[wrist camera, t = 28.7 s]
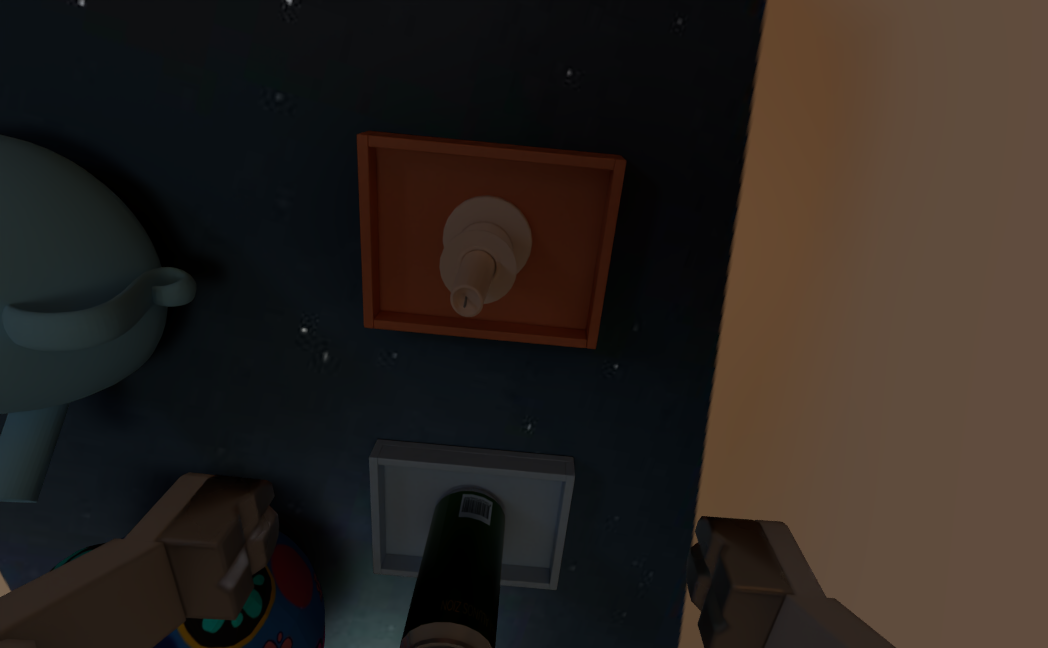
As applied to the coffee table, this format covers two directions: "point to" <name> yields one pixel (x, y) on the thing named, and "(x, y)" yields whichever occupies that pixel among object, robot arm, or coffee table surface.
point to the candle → (483, 252)
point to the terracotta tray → (477, 170)
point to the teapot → (68, 302)
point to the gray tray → (511, 477)
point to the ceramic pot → (261, 608)
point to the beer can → (459, 574)
